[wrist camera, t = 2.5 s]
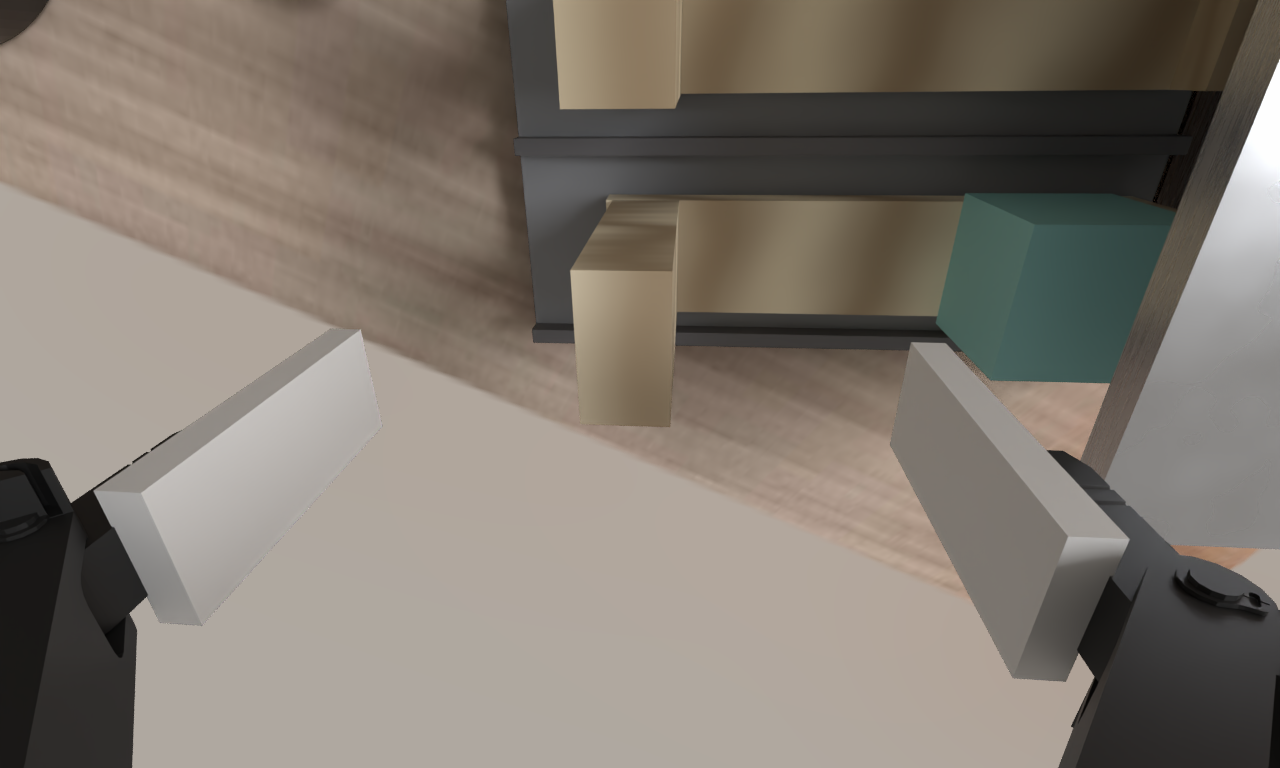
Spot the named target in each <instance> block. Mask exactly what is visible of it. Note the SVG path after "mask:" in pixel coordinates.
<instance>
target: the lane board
mask: <svg viewBox="0 0 1280 768" xmlns="http://www.w3.org/2000/svg"><path fill="white" fill-rule="evenodd" d="M506 6H507V17H508V27H509V38H510V49H511V59H512V70H513V81H514V91H515V102H516V112H517V123H518V134H519V137H517V138H514V139H513V140H514V150H515V156H521V165H522V176H523V187H524V197H525V208H526V219H527V229H528V240H529V250H530V261H531V272H532V282H533V293H534V304H535V314H536V324H535V326H534V328H533V329H532V333H533V343H575V336H574V320H573V305H572V289H571V274H570V270H571V268H572V267H573V265H574V263H575V262H576V260H577V258H578V257H579V255H580V253H581V252H582V250H583V248H584V247H585V245H586V243H587V242H588V240H589V238H590V237H591V235H592V233H593V232H594V230H595V228H596V227H597V225H598V223H599V222H600V220H601V218H602V217H603V215H604V213H605V212H606V199H607V198H608V196H609V195H610V194H625V195H921V196H965V193H1087V194H1115V195H1118V196H1133V197H1136V198H1140V199H1143V200H1147V201H1150V202H1152V201H1153V199H1154V196H1155V193H1156V190H1157V188H1158V185H1159V182H1160V179H1161V177H1162V174H1163V171H1164V169H1165V166H1166V163H1167V160H1168V158H1169V155H1187V152H1188V149H1189V147H1190V144H1191V141H1192V139H1193V136H1185V135H1178V134H1177V133H1178V130H1179V128H1180V125H1181V122H1182V119H1183V117H1184V114H1185V111H1186V109H1187V106H1188V103H1189V100H1190V98H1191V95H1192V92H1193V91H1190V90H1065V91H945V92H826V93H707V94H681V95H680V97H679V100H678V102H677V105H676V107H675V109H560V102H559V86H558V71H557V55H556V40H555V24H554V8H553V0H506ZM936 320H937V316H897V315H838V314H779V313H720V312H677V319H676V336H675V345H676V346H724V347H772V348H820V349H867V350H909V349H910V345H911V342H920V343H946V344H947V345H948V346H949V347H950V348H951V349H952V350H953V351H962V350H961V349H960V348H959V347H958V346H957V345H956V344H955V343H954V342H953V341H952V340H951V339H950V338H949V337H948V336H947V335H946V334H945V332H944V331H943V330H942V329H941V328H940V327H939V326H938V325H937V324H936Z"/></svg>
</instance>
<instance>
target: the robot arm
mask: <svg viewBox="0 0 1280 768" xmlns="http://www.w3.org/2000/svg"><path fill="white" fill-rule="evenodd" d="M47 1H48V0H0V44H1V43H3V42H5V41H7V40H9V39H11V38H13V37H14V36H16V35H17V34H19V33H20V32H21V31H23V30H24V29H25V28H26V27H27V26H28V25H29V24H31V23H32V22H33V20H34V19H35V18H36V17H37V16H38V15H39V13H40V12H41V11H42V9H43V8H44V6H45V5H46V3H47ZM382 426H383V425H382V421H381V416H380V412H379V408H378V403H377V399H376V395H375V390H374V386H373V381H372V378H371V373H370V369H369V364H368V360H367V355H366V351H365V347H364V342H363V338H362V334H361V329H330V330H328V331H327V332H325V333H324V334H322V335H321V336H319V337H318V338H317V339H315V340H314V341H312V342H311V343H309V344H308V345H306V346H305V347H303V348H302V349H300V350H299V351H297V352H296V353H295V354H293V355H292V356H290V357H289V358H287V359H286V360H284V361H283V362H281V363H280V364H278V365H277V366H275V367H274V368H273V369H271V370H270V371H268V372H267V373H265V374H264V375H262V376H261V377H259V378H258V379H256V380H255V381H254V382H252V383H251V384H249V385H248V386H246V387H245V388H243V389H242V390H240V391H239V392H237V393H236V394H234V395H233V396H231V397H230V398H229V399H227V400H226V401H224V402H223V403H221V404H220V405H218V406H217V407H215V408H214V409H212V410H211V411H210V412H208V413H207V414H205V415H204V416H202V417H201V418H199V419H198V420H196V421H195V422H193V423H192V424H190V425H189V426H188V427H186V428H185V429H183V430H181V431H179V432H176V433H174V434H172V435H171V436H169V437H168V438H167V439H165V440H163V441H162V442H160V443H159V444H158V445H156V446H155V447H153V448H152V449H151V452H146V453H144V454H143V455H141V456H140V457H139V458H137V459H136V460H134V461H133V463H132V465H127V466H125V467H124V468H122V469H121V470H119V471H118V472H116V473H115V474H113V475H112V476H110V477H109V478H107V479H106V480H105V481H103V482H101V483H100V484H98V485H97V486H96V487H94V488H93V489H91V490H90V491H88V492H87V493H85V494H84V495H82V496H81V497H79V498H78V499H76V500H75V501H73V502H72V503H70V501H69V499H68V497H67V495H66V493H65V492H64V490H63V488H62V486H61V484H60V482H59V480H58V478H57V476H56V475H55V473H54V471H53V469H52V467H51V465H50V463H49V461H45V460H42V459H39V458H34V459H33V458H30V459H17V460H12V461H6V462H1V463H0V768H132V755H133V724H134V699H135V698H134V697H135V670H136V643H137V629H136V627H135V624H134V622H133V620H132V618H131V616H130V614H129V613H130V612H131V611H132V610H133V609H134V608H135V607H136V606H137V605H138V604H139V603H141V601H142V600H144V598H146V597H147V598H148V600H149V602H150V604H151V606H152V608H153V610H154V612H155V614H156V616H157V618H158V620H159V622H160V623H170V624H185V625H200V626H202V625H203V624H204V623H205V622H206V621H207V620H208V618H210V617H211V615H212V614H213V613H214V612H215V611H216V610H217V609H218V608H219V607H220V605H221V604H222V603H223V602H224V601H225V600H226V599H227V598H228V597H229V595H230V594H231V593H232V592H233V591H234V590H235V589H236V588H237V587H238V586H239V584H240V583H241V582H242V581H243V580H244V579H245V578H246V577H247V576H248V575H249V573H250V572H251V571H252V570H253V569H254V568H255V567H256V566H257V564H258V563H259V562H260V561H261V560H262V559H263V558H264V557H265V556H266V554H268V552H269V551H270V550H271V549H272V548H273V547H274V546H275V544H277V542H278V541H279V540H280V539H281V538H282V537H283V536H284V535H285V534H286V532H287V531H288V530H289V529H290V528H291V527H292V526H293V525H294V524H295V523H296V521H297V520H298V519H299V518H300V517H301V516H302V515H303V514H304V513H305V512H306V510H307V509H308V508H309V507H310V506H311V505H312V504H313V503H314V502H315V500H316V499H317V498H318V497H319V496H320V495H321V494H322V493H323V492H324V491H325V489H326V488H327V487H328V486H329V485H330V484H331V483H332V482H333V481H334V479H335V478H336V477H337V476H338V475H339V474H340V473H341V472H342V470H344V468H345V467H346V466H347V465H348V464H349V463H350V462H351V461H352V460H353V459H354V457H355V456H356V455H357V454H358V453H359V452H360V451H361V450H362V448H363V447H364V446H365V445H366V444H367V443H368V442H369V441H370V440H371V439H372V437H373V436H374V435H375V434H376V433H377V432H378V431H379V430H380V429H381V428H382ZM890 446H891V448H892V449H893V451H894V453H895V455H896V457H897V459H898V461H899V463H900V465H901V467H902V468H903V470H904V472H905V474H906V476H907V478H908V480H909V482H910V484H911V486H912V487H913V489H914V491H915V493H916V495H917V497H918V499H919V501H920V503H921V505H922V507H923V508H924V510H925V512H926V514H927V516H928V518H929V520H930V522H931V524H932V526H933V527H934V529H935V531H936V533H937V535H938V537H939V539H940V541H941V543H942V545H943V546H944V548H945V550H946V552H947V554H948V556H949V558H950V560H951V562H952V564H953V565H954V567H955V569H956V571H957V573H958V575H959V577H960V579H961V581H962V583H963V584H964V586H965V588H966V590H967V592H968V594H969V596H970V598H971V600H972V602H973V603H974V605H975V607H976V609H977V611H978V613H979V615H980V617H981V618H982V620H983V622H984V624H985V626H986V628H987V630H988V632H989V634H990V636H991V637H992V639H993V641H994V643H995V645H996V647H997V649H998V651H999V653H1000V655H1001V657H1002V659H1003V660H1004V662H1005V664H1006V666H1007V668H1008V670H1009V672H1010V674H1011V676H1012V677H1013V678H1017V679H1018V678H1019V679H1034V680H1048V681H1063V682H1066V680H1067V678H1068V676H1069V673H1070V671H1071V669H1072V667H1073V664H1074V662H1075V660H1076V658H1077V656H1078V653H1079V654H1080V655H1081V657H1082V658H1083V660H1084V661H1085V663H1086V664H1087V666H1088V667H1089V669H1090V670H1091V672H1092V673H1093V675H1094V676H1095V677H1094V679H1093V682H1092V684H1091V686H1090V688H1089V690H1088V692H1087V694H1086V696H1085V698H1084V700H1083V703H1082V704H1081V707H1080V709H1079V711H1078V713H1077V715H1076V717H1075V719H1074V721H1073V724H1072V725H1071V727H1073V731H1072V733H1071V736H1070V739H1069V741H1068V744H1067V746H1066V749H1065V752H1064V754H1063V757H1062V759H1061V762H1060V765H1059V767H1058V768H1280V610H1278V608H1277V605H1276V603H1275V602H1274V601H1273V600H1272V599H1271V598H1270V597H1269V596H1268V595H1267V594H1266V593H1265V592H1264V591H1263V590H1262V589H1261V588H1260V587H1258V586H1256V585H1255V584H1253V583H1252V582H1251V581H1249V580H1248V579H1246V578H1245V577H1243V576H1242V575H1240V574H1238V573H1235V572H1233V571H1231V570H1229V569H1227V568H1225V567H1223V566H1220V565H1218V564H1216V563H1212V562H1209V561H1206V560H1202V559H1199V558H1196V557H1191V556H1183V555H1179V554H1178V553H1177V552H1176V551H1175V550H1174V549H1173V548H1172V547H1171V546H1170V545H1169V544H1168V543H1167V542H1166V541H1165V540H1164V539H1163V538H1162V537H1161V536H1160V535H1159V534H1158V533H1157V532H1156V531H1155V530H1154V529H1153V528H1152V527H1151V526H1150V525H1149V524H1148V523H1147V522H1146V521H1145V520H1144V519H1143V518H1142V517H1141V516H1140V515H1139V514H1138V513H1137V512H1136V511H1135V510H1134V509H1133V508H1132V507H1131V506H1127V505H1126V501H1125V500H1124V499H1123V498H1122V497H1121V496H1120V495H1119V494H1118V493H1117V492H1116V491H1115V490H1110V485H1108V484H1107V483H1106V482H1105V481H1104V480H1103V479H1102V478H1101V477H1100V476H1099V475H1098V474H1097V473H1096V472H1095V471H1094V470H1093V469H1092V468H1091V467H1090V466H1088V465H1086V464H1085V463H1083V462H1081V461H1079V460H1078V459H1076V458H1074V457H1073V456H1071V455H1069V454H1067V453H1066V452H1064V451H1052V450H1045V448H1044V447H1043V446H1042V445H1041V444H1040V443H1039V442H1038V441H1037V440H1036V439H1035V438H1034V437H1033V436H1032V435H1031V434H1030V432H1029V431H1028V430H1027V429H1026V428H1025V427H1024V426H1023V425H1022V424H1021V423H1020V422H1019V421H1018V420H1017V419H1016V418H1015V416H1014V415H1013V414H1012V413H1011V412H1010V411H1009V410H1008V409H1007V408H1006V407H1005V406H1004V405H1003V404H1002V403H1001V402H1000V400H999V399H998V398H997V397H996V396H995V395H994V394H993V393H992V392H991V391H990V390H989V389H988V388H987V387H986V386H985V385H984V383H983V382H982V381H981V380H980V379H979V378H978V377H977V376H976V375H975V374H974V373H973V372H972V371H971V370H970V369H969V367H968V366H967V365H966V364H965V363H964V362H963V361H962V360H961V359H960V358H959V357H958V356H957V355H956V354H955V353H954V351H953V350H952V349H951V348H950V347H949V346H948V345H947V344H946V343H920V342H911V345H910V349H909V354H908V359H907V364H906V369H905V374H904V379H903V383H902V388H901V393H900V398H899V403H898V408H897V413H896V418H895V422H894V427H893V432H892V437H891V442H890Z"/></svg>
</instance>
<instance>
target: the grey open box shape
mask: <svg viewBox="0 0 1280 768" xmlns="http://www.w3.org/2000/svg"><path fill="white" fill-rule="evenodd" d="M1181 135H1185V136H1193V139H1192V141H1191V144H1190V147H1189V149H1188V152H1187V155H1174V156H1173V159H1172V162H1171V164H1170V167H1169V170H1168V172H1167V175H1166V178H1165V180H1164V183H1163V186H1162V189H1161V191H1160V194H1159V197H1158V199H1157V202H1156V203H1157V204H1161V205H1164V206H1168V207H1171V208H1175V209H1177V212H1176V215H1175V217H1174V220H1173V222H1172V225H1171V228H1170V230H1169V233H1168V235H1167V238H1166V240H1165V243H1164V246H1163V248H1162V251H1161V253H1160V256H1159V259H1158V261H1157V264H1156V266H1155V269H1154V272H1153V274H1152V277H1151V279H1150V282H1149V284H1148V287H1147V290H1146V292H1145V295H1144V297H1143V300H1142V303H1141V305H1140V308H1139V310H1138V313H1137V315H1136V318H1135V321H1134V323H1133V326H1132V328H1131V331H1130V334H1129V336H1128V339H1127V341H1126V344H1125V346H1124V349H1123V352H1122V354H1121V357H1120V359H1119V362H1118V365H1117V367H1116V370H1115V372H1114V375H1113V377H1112V380H1111V383H1110V385H1109V388H1108V390H1107V393H1106V396H1105V398H1104V401H1103V403H1102V406H1101V408H1100V411H1099V414H1098V416H1097V419H1096V421H1095V424H1094V427H1093V429H1092V432H1091V434H1090V437H1089V439H1088V442H1087V445H1086V447H1085V450H1084V452H1083V455H1082V458H1081V460H1080V461H1081V462H1083V463H1085V464H1086V465H1088V466H1090V467H1091V468H1092V469H1093V470H1094V471H1095V472H1096V473H1097V474H1098V475H1099V476H1100V477H1101V478H1102V479H1103V480H1104V481H1105V482H1106V483H1107V484H1108V485H1110V490H1115V491H1116V492H1117V493H1118V494H1119V495H1120V496H1121V497H1122V498H1123V499H1124V500H1125V501H1126V505H1127V506H1131V507H1132V508H1133V509H1134V510H1135V511H1136V512H1137V513H1138V514H1139V515H1140V516H1141V517H1142V518H1143V519H1144V520H1145V521H1146V522H1147V523H1148V524H1149V525H1150V526H1151V527H1152V528H1153V529H1154V530H1155V531H1156V532H1157V533H1158V534H1159V535H1160V536H1161V537H1162V538H1163V539H1164V540H1165V541H1166V542H1167V543H1168V544H1169V545H1189V546H1213V547H1236V548H1260V549H1280V0H1258V3H1257V5H1256V8H1255V11H1254V13H1253V16H1252V18H1251V21H1250V23H1249V26H1248V29H1247V31H1246V34H1245V36H1244V39H1243V42H1242V44H1241V47H1240V49H1239V52H1238V54H1237V57H1236V60H1235V62H1234V65H1233V67H1232V70H1231V73H1230V75H1229V78H1228V80H1227V83H1226V85H1225V88H1224V91H1197V94H1196V97H1195V99H1194V102H1193V105H1192V107H1191V110H1190V113H1189V115H1188V118H1187V121H1186V124H1185V126H1184V129H1183V132H1182V134H1181Z"/></svg>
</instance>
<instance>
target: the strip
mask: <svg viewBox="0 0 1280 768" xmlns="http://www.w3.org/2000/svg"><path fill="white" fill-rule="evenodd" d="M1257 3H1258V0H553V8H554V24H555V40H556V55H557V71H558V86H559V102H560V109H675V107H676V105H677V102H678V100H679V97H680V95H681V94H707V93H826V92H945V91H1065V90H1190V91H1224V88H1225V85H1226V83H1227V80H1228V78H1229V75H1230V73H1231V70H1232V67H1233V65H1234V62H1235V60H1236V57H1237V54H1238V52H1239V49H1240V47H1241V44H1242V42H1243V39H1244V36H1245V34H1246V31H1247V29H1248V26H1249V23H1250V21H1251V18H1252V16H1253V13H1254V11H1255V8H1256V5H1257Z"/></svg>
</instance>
